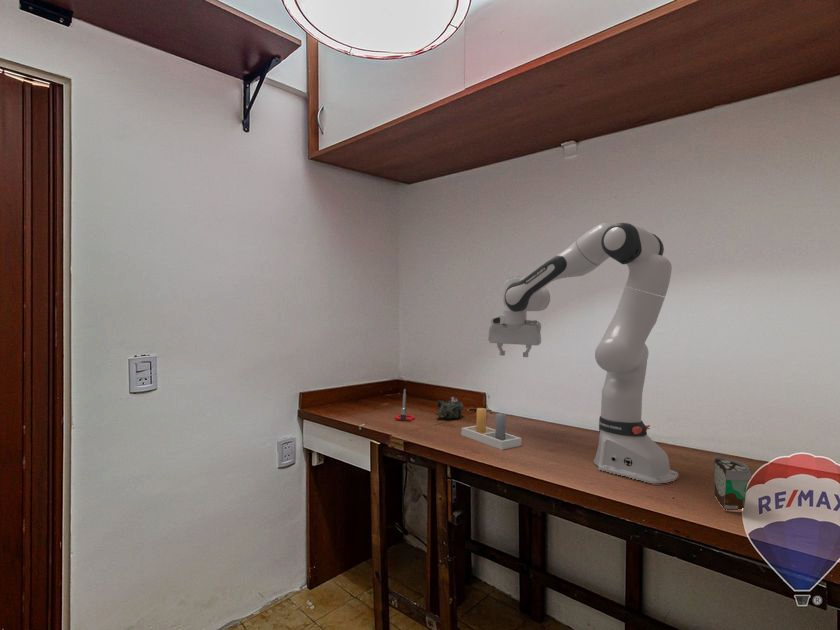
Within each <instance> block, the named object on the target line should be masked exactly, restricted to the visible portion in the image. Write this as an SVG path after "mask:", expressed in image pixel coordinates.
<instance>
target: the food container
mask: <svg viewBox="0 0 840 630" xmlns="http://www.w3.org/2000/svg"><path fill="white" fill-rule="evenodd" d="M713 464H714V466H713V471H714V472H713V473H714V475H713V483H714V484H713V495H714V494H715V496H716V497H717V499H718V501H719V502H720V504H721V505H722V506H723V508H724V509H725V510H726V509H727V510H738V509H742V508H744V509H745V505H746V496H747V488H748V482H749V481H748V480H750V479H752V473H751V470H750V467H749V465H747V464H745V463H743V462H742V461H739V460H735V459H731V458H727V457H723V456H717V455H715V456H714V457H713Z"/></svg>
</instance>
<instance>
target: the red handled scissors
mask: <svg viewBox="0 0 840 630" xmlns="http://www.w3.org/2000/svg"><path fill="white" fill-rule="evenodd" d="M406 391H407V390H406V388H404V389H403V394H402V407H401V413H400V414H396V415H394V420H395V421H401V422H412V420H415V419H416V416H415V415H412V414H406V413H407V408H406V403H407V401H406V400H407V394H406Z"/></svg>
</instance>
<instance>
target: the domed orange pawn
mask: <svg viewBox="0 0 840 630" xmlns="http://www.w3.org/2000/svg"><path fill="white" fill-rule="evenodd" d="M475 422H476V425H475V426H476V432H478V433H481V434H484V433H486V427H487V408H484V407H477V408H476V421H475Z"/></svg>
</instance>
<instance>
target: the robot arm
mask: <svg viewBox="0 0 840 630" xmlns="http://www.w3.org/2000/svg"><path fill="white" fill-rule="evenodd" d="M664 251H665V248H664V244H663V241H662V240H661V239H660V237H658V236H657V235H656V234H654V233H651V232H650V231H648V230H646V229H645V228H643V227H640V226H637V225H634V224H631V223H628V222H617V223H614V224H611V223H608V222H602V223H599V224H598V225H595V226H594V227H592V228H591V229H589V230H588V231H587V232H585V233H584V234H582V235H581V236H580V237H578V239H576V240H575V241H574V242H573V243H571V244H570V245H569V246H568V247H567V248H565V249H563V251H562V252H560V253H559V254H557V255H555V256H553V257H552V258H551V259H549V260H548V261H546V262H545V263H542V265H540V266H539V267H538V268H536V269H535V270H534V271H533V272H531V273H530V274H529V275H527V276H526V277H524V276H512V277H510V278H508V279H506V281H505V282H504V285H503V294H502V295H503V296H502V301H503V310H502V315H499V316H496V317H492V318H490V323H491V325H490V326H489V327H488V328H489V329H488V342H489V343H490V344H496V347H497V348H498V351H499V356H506V350H503V346H504V345H506V344H507V345H521V346H525V348H526V350H525V351H523V352H522V357H523V358H528V357H529V353H530V351H531V349H532V346H540V344H542V335H541V330H542V324H541V322H539V321H538V320H536V319H535V320H532V319H527V316H528V315H527V312H541V311H544V310H545V309H546V308H548V306H549V304H550V302H551V296H550V295H551V294H550V291H549V289H547V288H546V287H547V286H548V285H549V284H550V283H552V282H554V281H556V280H560V279H566V278H574V277H583V276H585V275H587V274H589V273H591V272H593V271H594V270H596V269H597V268H598V267H599V266H600V265H602V264H603V263H604V262H605V261H607V260H608V259H610V258H611V259H613V260H615V261H616V262H618V263H619V264H621V265H626V266H627V267H628V272H629V273H628V276H627V280H626V282H625V285H624V289H623V291H622V294H621V296H620V300H619V303H618V305H617V309H616V311H615V314H613V317H612V319H611V321H610V323H609V325H608V327H607V329H606V330H605V333H604V335H603V337H602V338H601V341H600V342H599V343H598V345H597V346H596V349H595V350H594V357H595V358H594V359H595V362H596V363H597V365H598V366H599V367H600V368H601V369H602V370H604V371H605V372H606V376H605V380H604V383H603V387H602V389H601V401H600V402H601V406H600V416H599V419H598V421H599V422H598V432H599V437H598V444H597V448H596V449H597V450H596V454H595V457H594V460H593V463H594V464H595V466H597V469H598V470H599V471H600V470H602V471H601V472H603V471H606V472H605V473H607V472H609V473H608V474H611V473H613V474H612V475H615V474H617V475H616V476H618V475H621V476H620V477H622V476H626V477H629V478H628V479H630V478H632V479H631V480H634V479H636V480H635V481H637V480H641V481H644V482H643V483H645V482H649V483H665V482H670V481H672V480H674V479H676V478H677V477H678V478H679V473H678V471H676V470H672V469H671V467H670V460H669V456H668V454H667V452H666V451H665V450H663V449H662V448H661V447H660V446H659V444H657V443H656V442H655V441H654V440H653V439H652V438H651V437H650V436H649V435H648V432H647V431H648V430H650V429H651V428H650V426H651V425H650V424H648V425H645V423H644V421H643V420H642V412H643V411H642V409H643V392H644V386H645V380H646V373H647V366H648V359H649V349H648V346H647V344H646V341H647V339H648V338H649V335H650V333H651V331H652V330H653V328H654V326H655V325H656V323H657V321H658V318H659V316H660V315H659V314H660V313H661V310H662V308H663V305H664V301H665V300H666V299H665V298H666V296H667V293H668V289H669V287H670V281H671V277H672V269H673V265H672V263H671V261H670V260H669V259H668V258H667V257H665V256H663V255H664ZM503 344H504V345H503ZM626 477H625V478H626ZM641 481H640V482H641ZM649 483H648V484H649Z"/></svg>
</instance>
